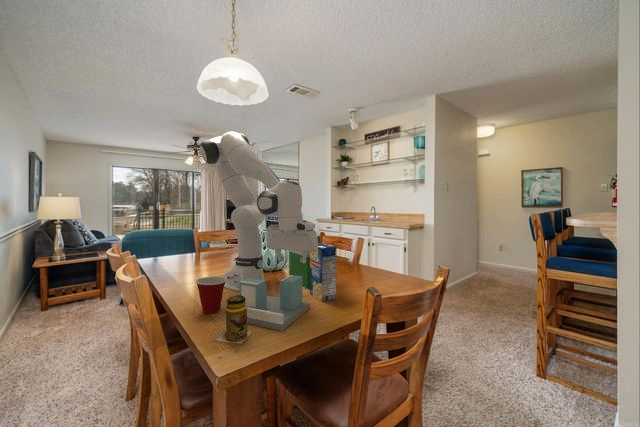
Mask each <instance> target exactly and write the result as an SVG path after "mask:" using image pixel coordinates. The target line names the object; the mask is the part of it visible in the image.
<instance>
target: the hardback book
mask: <svg viewBox="0 0 640 427" xmlns="http://www.w3.org/2000/svg"><path fill="white" fill-rule="evenodd" d="M317 239H318V244H319V243H321V236H320V235H317ZM303 256H304V254H303V251H296V250H288V276H290V275H293V276H301V277H302V287H303V289H307V290H310V251H309V254H308V255H307V257H306V263H300V258H302V257H303Z"/></svg>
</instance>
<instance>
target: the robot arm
mask: <svg viewBox="0 0 640 427" xmlns="http://www.w3.org/2000/svg"><path fill="white" fill-rule="evenodd" d="M199 153H200V157H201V159H202V160H203V161H204V162H205V163H206V164H209V165H215V167H216V171H217V174H218V179H219V181H220V183H221V185H222V187H223V190H224V192H225V193H226V196H227V198H228V200H229V201H230V202H231V203H232V204H233V205H234V207H235V209H233V210H232V212H231V215H230V220H231V223H232V224H233V226H234V229H235V233H236V238H237V257H235V258H234V257H233V261H234V262H235V263H234V264H233V265H232V266H231V267H230V268H229V269H227V270H226V271H225V273H224V277H223V278H226V279H227V281H226V282H225V285H224V288H225V289H227V290H228V289H229V290H231V291H232V290H233V291H236V292H239V282H240V281H243V280H245V279H248V278H250V279H257V280H264V281H266V280H265V276H264V271H263V265H264V257H263V255H262V253H263V250H262V249H263V245H262V243H263V240H262V237H261V234H260V229H259V226H260V225H261V224H262V223H263V221H264V220H265V218H266V216H268V217H269V216H277V217H278V218H277V220H278V224H273V223H272V224H269V225H268V226H267V229H266V240H265V241H266V244H265V247H266V248H267V250H274V253H275V254H276V257H277V261H278V262H284V255H282V254H281V252H282V251H283V250H284V251H289V250H296V251H303V254H304V256H303V257H302V258H300V263H306V257H307V255H308V254H309V251H315V250H316V249H317V248H318V239H317V236H318V234H317V232H316V230H315V229H316V224H315V223H314V222H312V221H309V220H307V219H304V217H303V212H302V208H303V194H302V187H301V185H300V183H298V182H297V181H293V180H286V179H283V180H282V179H280V178H279V177H278V176H277V175H276V174H275V172H274V171H273V170H272V169H271V168H270V167H269V165H267V164H266V163H265V162H264V161H263V160H262V159H261V158H260V157H259V156H258V155H257V153H256V152H255V151H254V150H253V148H252V147H251V145H250V140H249V139H248V137H247V136H246V135H245V134H244V133H242V132H241V133H239V132H236V131H227V132H226V133H223V135H220V136H216V137H213V138H211V139H206V140H203V141H201V142H200V144H199ZM246 177H247V178H251V179H254V180H257V181H259V182H260V183H262V184H263V185H264V186H265V187H266V188H267V189H266V190H264V191H261V192H260V193H259V194H258V196H257V197H256V196H255V194H254V192H253V191H252V190H251V188H250V185H249V183H248V181H247V179H246Z"/></svg>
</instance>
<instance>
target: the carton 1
mask: <svg viewBox="0 0 640 427" xmlns="http://www.w3.org/2000/svg"><path fill="white" fill-rule="evenodd" d="M264 280H265V279H264ZM264 280H257V279H250V278H248V279H245V280H243V281H240V282H239V291H238V295H241V296H244V297H245V302H246V304H245V305H246V306H247V307H250V308H255V309H260V310H264V309H266V308H267V304H266V295H267V280H265V281H264Z"/></svg>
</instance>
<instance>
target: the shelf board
mask: <svg viewBox="0 0 640 427" xmlns="http://www.w3.org/2000/svg"><path fill="white" fill-rule="evenodd" d="M266 304H267V308H266V309H264V310H260V309H255V308H250V307H247V324H250V325H254V326H258V327H262V328H268V329H271V330H276V331H281V332H282V331H284V330H285V329H286V328H287V327H288V326H290V325H291V324H292V323H293V322H294V321H295V320H297V319H298V318H299V317H300V316H302V315H303V314H304V313H305V312H306V311H308V310H309V309H310V306H311V305H310V301H303V303H301V304H300V305H299V306H297V307H296V308H295V309H293V310H288V309H282V308H280V296H279V297H278V296H273V295H272V296H271V295H268V294H266Z"/></svg>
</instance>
